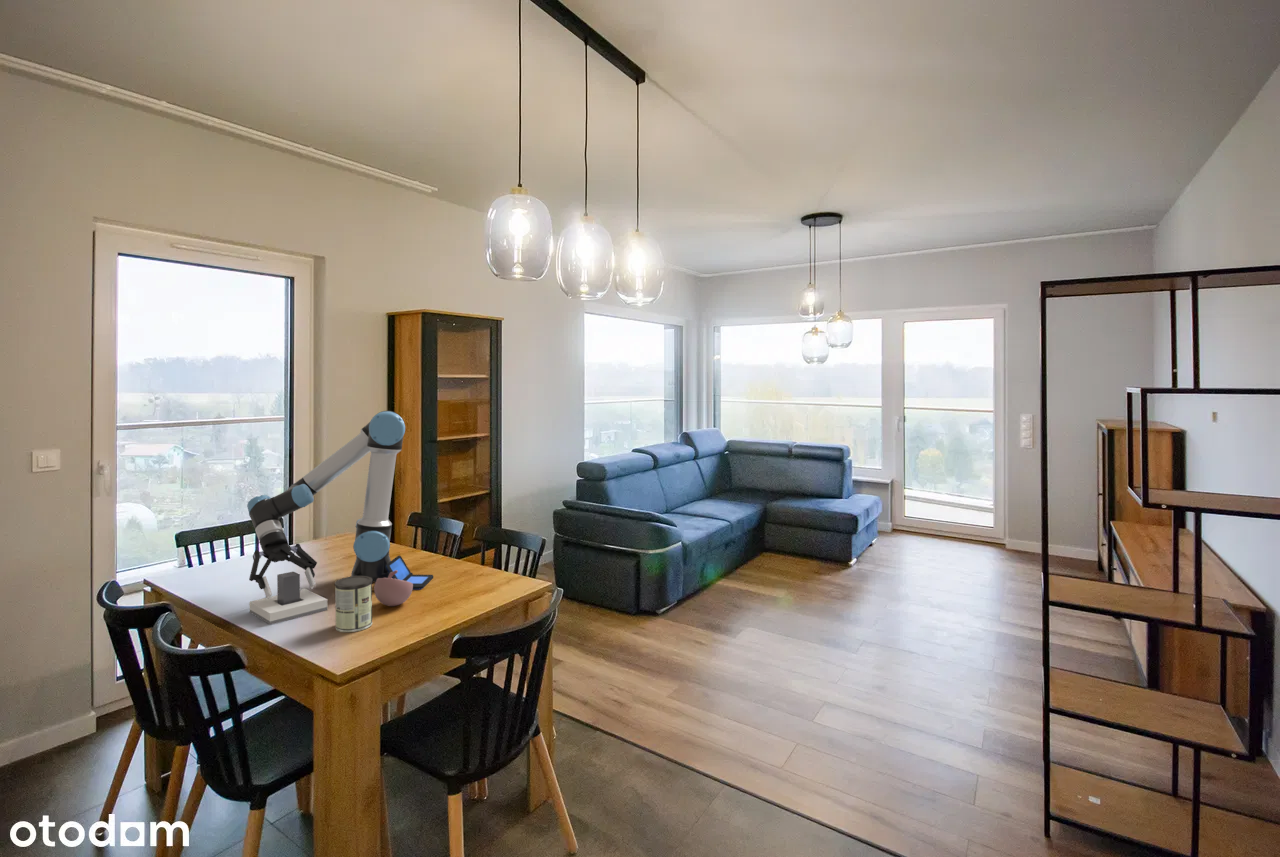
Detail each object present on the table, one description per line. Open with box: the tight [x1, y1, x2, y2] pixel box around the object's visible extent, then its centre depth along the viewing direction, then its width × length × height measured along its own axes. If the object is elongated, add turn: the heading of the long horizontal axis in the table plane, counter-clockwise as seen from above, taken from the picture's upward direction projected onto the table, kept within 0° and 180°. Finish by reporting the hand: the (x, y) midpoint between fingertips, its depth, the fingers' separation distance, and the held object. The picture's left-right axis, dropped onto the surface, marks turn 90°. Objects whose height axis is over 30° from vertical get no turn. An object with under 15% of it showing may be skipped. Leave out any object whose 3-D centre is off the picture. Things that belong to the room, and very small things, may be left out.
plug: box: [276, 571, 301, 605], centre depth 195 cm, size 5×5×11 cm
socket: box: [249, 588, 328, 626], centre depth 195 cm, size 17×16×4 cm
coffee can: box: [334, 576, 373, 633], centre depth 183 cm, size 10×10×14 cm
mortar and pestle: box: [373, 570, 413, 607], centre depth 202 cm, size 12×12×11 cm
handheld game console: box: [386, 555, 434, 591], centre depth 226 cm, size 16×13×9 cm
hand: (292, 591), depth 193 cm, fingers open, 12 cm apart
